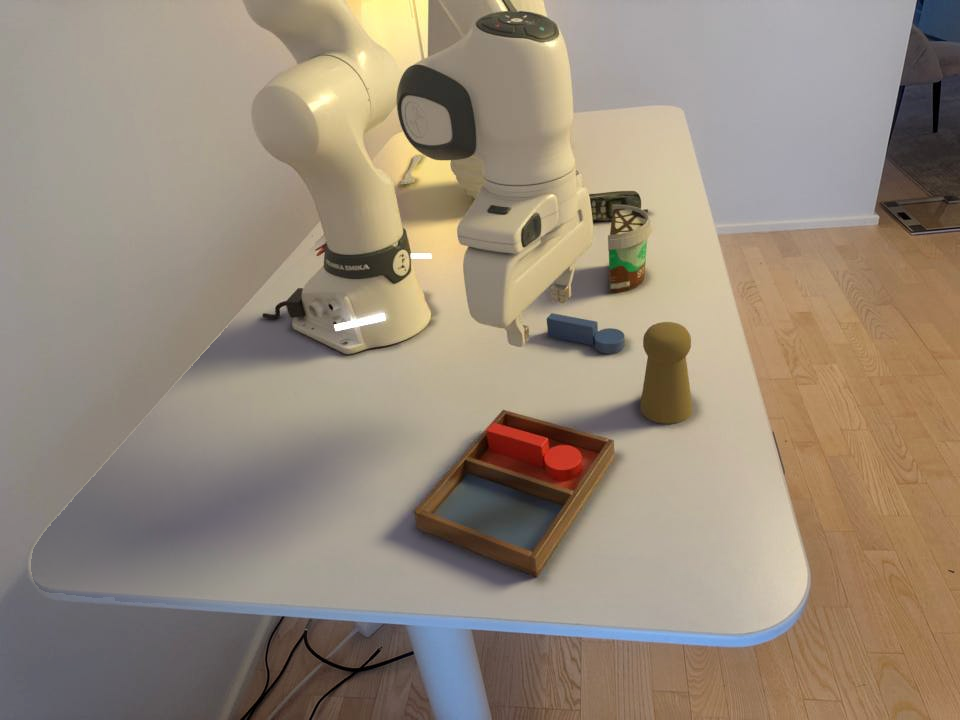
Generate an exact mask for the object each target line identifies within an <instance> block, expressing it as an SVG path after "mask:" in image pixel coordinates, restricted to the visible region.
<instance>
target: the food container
mask: <svg viewBox="0 0 960 720" xmlns="http://www.w3.org/2000/svg"><path fill="white" fill-rule="evenodd" d="M643 210H644V209H642V208H641V209H639V208H637V207H633V206H629V205H612V220H611V223H610V231H609V234H608V235H607V250H608V267H609V289H610V290H609V292H610V294H617V293H623V292H628V291H630V290H634V289H636V288H638V287H639V286H640V285H642V284H643V282H644V281H645V273H646V262H647V261H646V260H647V249H648V248H647V247H648V239H649V238H650V237H651V235H652V233H653V227H652V222H651V219H650V217H649V215H648V214H647V213H646V212H645V211H643Z"/></svg>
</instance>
